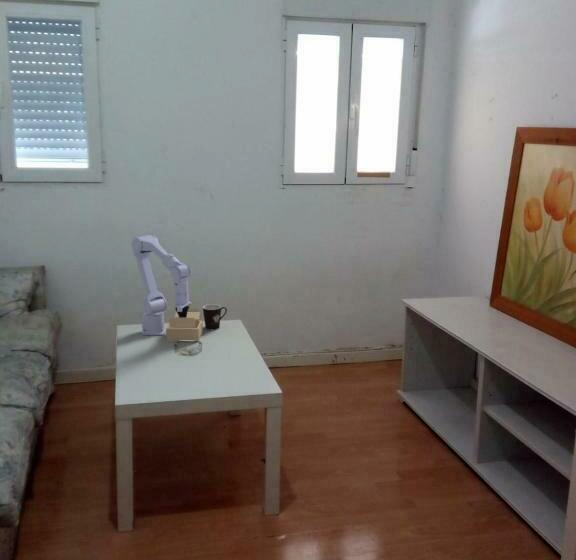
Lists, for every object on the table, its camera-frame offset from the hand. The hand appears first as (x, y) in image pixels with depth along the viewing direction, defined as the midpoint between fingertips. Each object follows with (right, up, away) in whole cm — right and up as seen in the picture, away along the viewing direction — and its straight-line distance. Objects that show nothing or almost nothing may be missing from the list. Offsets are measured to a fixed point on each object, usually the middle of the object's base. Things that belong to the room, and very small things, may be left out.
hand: (183, 323), depth 274 cm
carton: (-1, -7, +8) cm, 10 cm away
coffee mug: (+12, -4, +21) cm, 24 cm away
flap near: (0, 0, 0) cm, 1 cm away
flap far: (0, +2, +13) cm, 14 cm away
